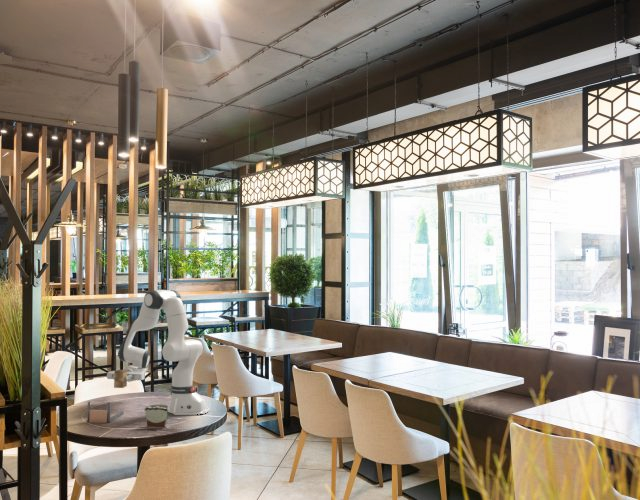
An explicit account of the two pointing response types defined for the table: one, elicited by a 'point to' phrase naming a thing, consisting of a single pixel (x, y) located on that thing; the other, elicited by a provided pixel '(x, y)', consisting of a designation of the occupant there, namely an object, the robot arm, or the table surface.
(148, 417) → the food container
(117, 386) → the tan upright block
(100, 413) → the bay
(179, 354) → the robot arm
